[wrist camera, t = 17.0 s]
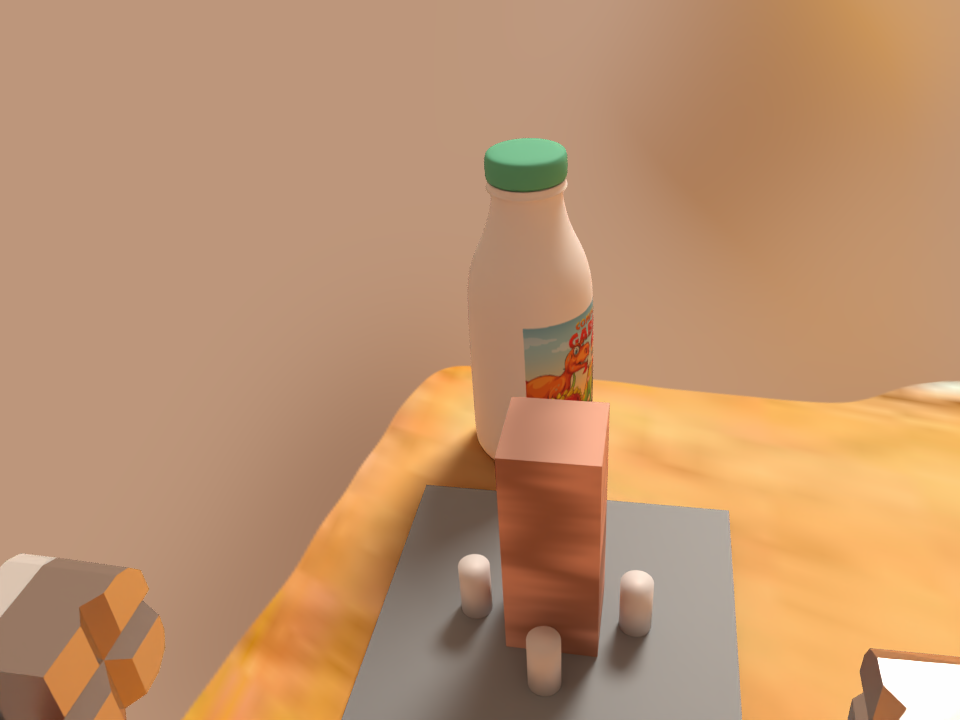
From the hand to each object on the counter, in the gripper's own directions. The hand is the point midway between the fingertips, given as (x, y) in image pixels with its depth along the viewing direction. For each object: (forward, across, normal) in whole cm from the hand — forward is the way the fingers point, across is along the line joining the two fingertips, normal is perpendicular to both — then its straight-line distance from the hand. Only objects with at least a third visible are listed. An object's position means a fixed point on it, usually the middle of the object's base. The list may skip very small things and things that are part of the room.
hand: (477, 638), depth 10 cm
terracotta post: (+24, +2, +28) cm, 37 cm away
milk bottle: (+40, +6, +29) cm, 49 cm away
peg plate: (+24, +2, +29) cm, 37 cm away
